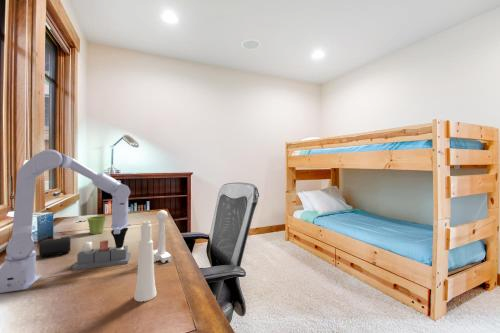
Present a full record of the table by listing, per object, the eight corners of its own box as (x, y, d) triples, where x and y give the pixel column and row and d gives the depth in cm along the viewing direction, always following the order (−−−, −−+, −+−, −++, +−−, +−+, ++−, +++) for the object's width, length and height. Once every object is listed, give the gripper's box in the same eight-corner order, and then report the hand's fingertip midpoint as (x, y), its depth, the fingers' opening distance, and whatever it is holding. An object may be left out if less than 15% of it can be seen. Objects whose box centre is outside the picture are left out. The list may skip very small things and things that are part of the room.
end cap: (39, 259, 95) (39, 243, 95) (41, 254, 101) (41, 238, 101) (70, 254, 101) (70, 238, 101) (70, 249, 107) (70, 234, 107)
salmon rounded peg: (107, 253, 93) (107, 242, 93) (98, 254, 92) (99, 242, 92) (108, 251, 95) (108, 240, 95) (100, 252, 94) (100, 240, 94)
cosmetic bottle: (160, 295, 70) (161, 221, 70) (139, 304, 65) (140, 224, 65) (150, 288, 74) (151, 218, 74) (130, 296, 69) (131, 221, 69)
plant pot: (88, 231, 136) (88, 216, 136) (107, 230, 140) (107, 215, 140) (84, 236, 128) (85, 219, 128) (105, 234, 132) (105, 218, 132)
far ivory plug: (122, 259, 95) (122, 248, 95) (114, 260, 94) (115, 249, 94) (123, 257, 97) (124, 246, 97) (116, 258, 96) (116, 246, 96)
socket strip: (127, 263, 92) (127, 251, 92) (72, 270, 86) (72, 256, 86) (130, 255, 101) (130, 243, 101) (80, 260, 95) (80, 248, 95)
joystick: (173, 260, 96) (174, 211, 96) (155, 266, 90) (156, 213, 90) (159, 253, 103) (160, 207, 103) (142, 258, 98) (143, 210, 98)
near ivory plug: (90, 255, 91) (90, 243, 91) (82, 256, 90) (82, 244, 90) (92, 253, 94) (92, 241, 94) (84, 253, 93) (84, 242, 93)
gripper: (128, 216, 90) (128, 252, 90) (133, 209, 104) (132, 240, 104) (107, 217, 88) (107, 254, 88) (114, 210, 101) (114, 242, 101)
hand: (119, 247), depth 96 cm, fingers closed
